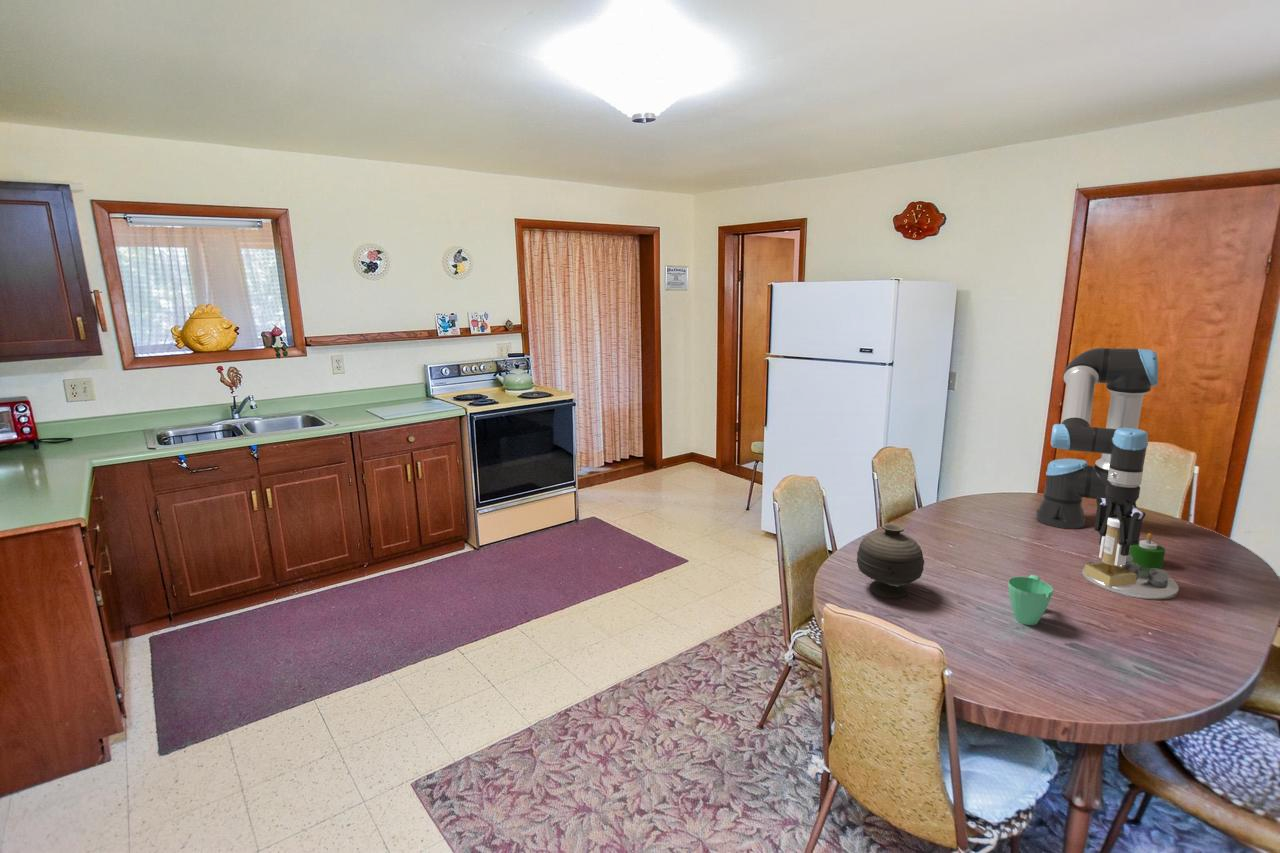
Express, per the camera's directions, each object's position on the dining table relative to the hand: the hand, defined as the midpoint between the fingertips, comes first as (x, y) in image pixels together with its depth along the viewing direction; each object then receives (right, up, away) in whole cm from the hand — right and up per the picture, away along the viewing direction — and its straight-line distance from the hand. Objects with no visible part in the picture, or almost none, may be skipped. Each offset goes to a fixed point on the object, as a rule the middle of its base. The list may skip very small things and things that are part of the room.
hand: (1111, 560), depth 178 cm
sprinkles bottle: (0, -1, 0) cm, 1 cm away
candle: (+21, -4, +14) cm, 26 cm away
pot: (-65, -9, 0) cm, 65 cm away
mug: (-34, -12, -16) cm, 39 cm away
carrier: (+7, -7, +2) cm, 10 cm away
